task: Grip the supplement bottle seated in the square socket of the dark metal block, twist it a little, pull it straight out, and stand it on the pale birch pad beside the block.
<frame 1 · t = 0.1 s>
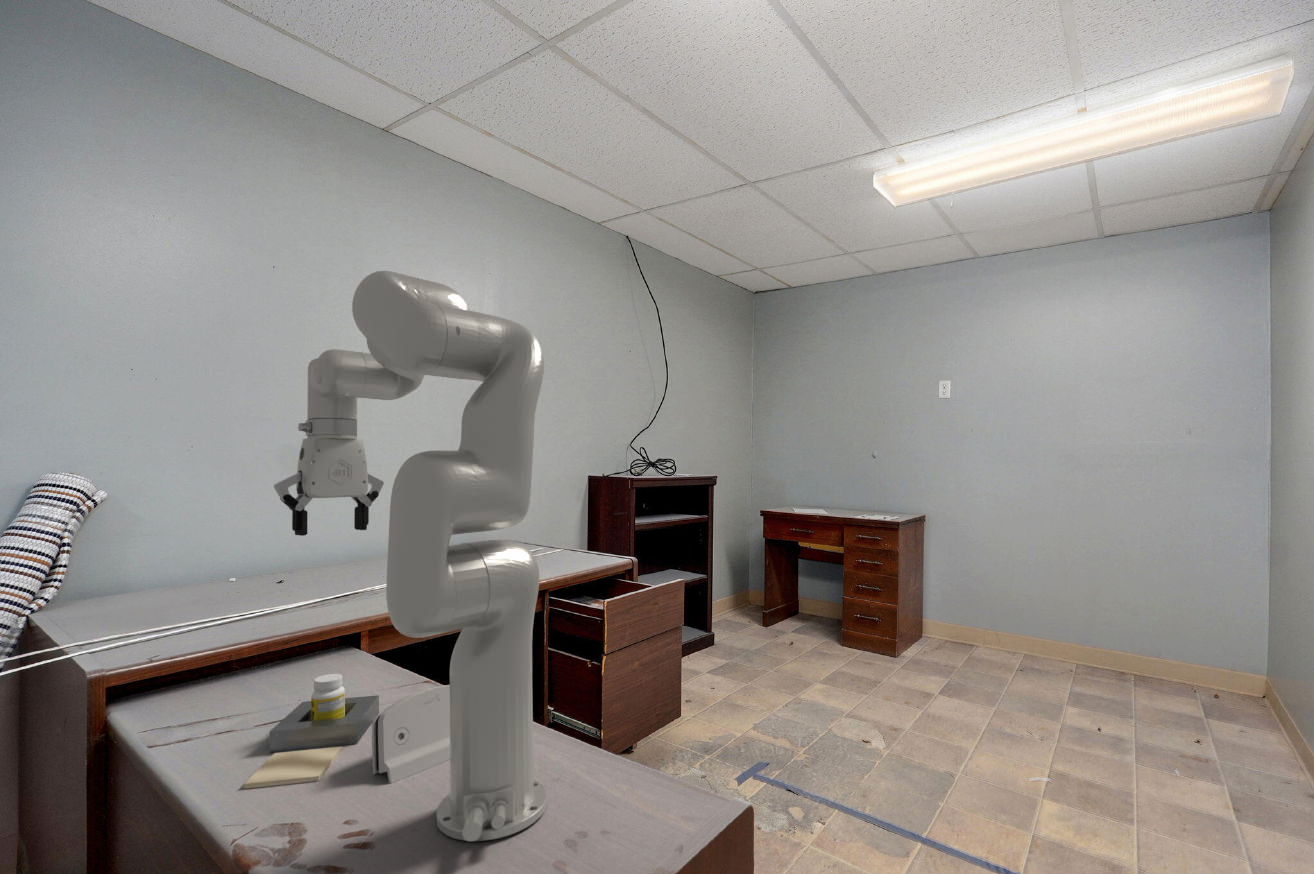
hand: (331, 532, 102), 31 cm above the table, tool pointing down, fingers open, 9 cm apart
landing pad: (295, 768, 84), on the table
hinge: (432, 755, 87), on the table
supplement bottle: (328, 732, 96), resting in socket block
socket block: (328, 731, 96), on the table
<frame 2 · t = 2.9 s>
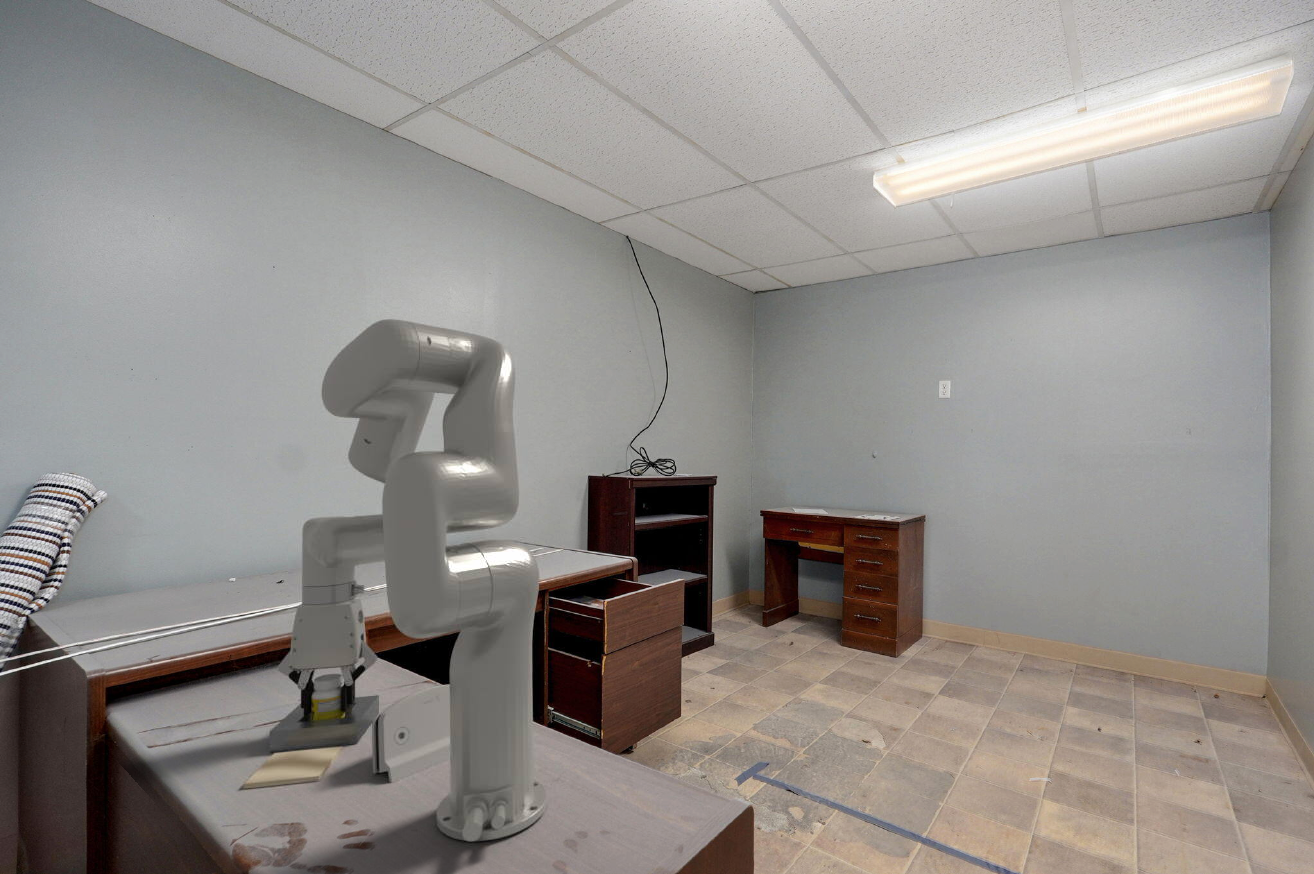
hand: (328, 709, 96), 3 cm above the table, tool pointing down, fingers closed on supplement bottle, 4 cm apart
supplement bottle: (328, 732, 96), resting in socket block, touching gripper
everything else where it was.
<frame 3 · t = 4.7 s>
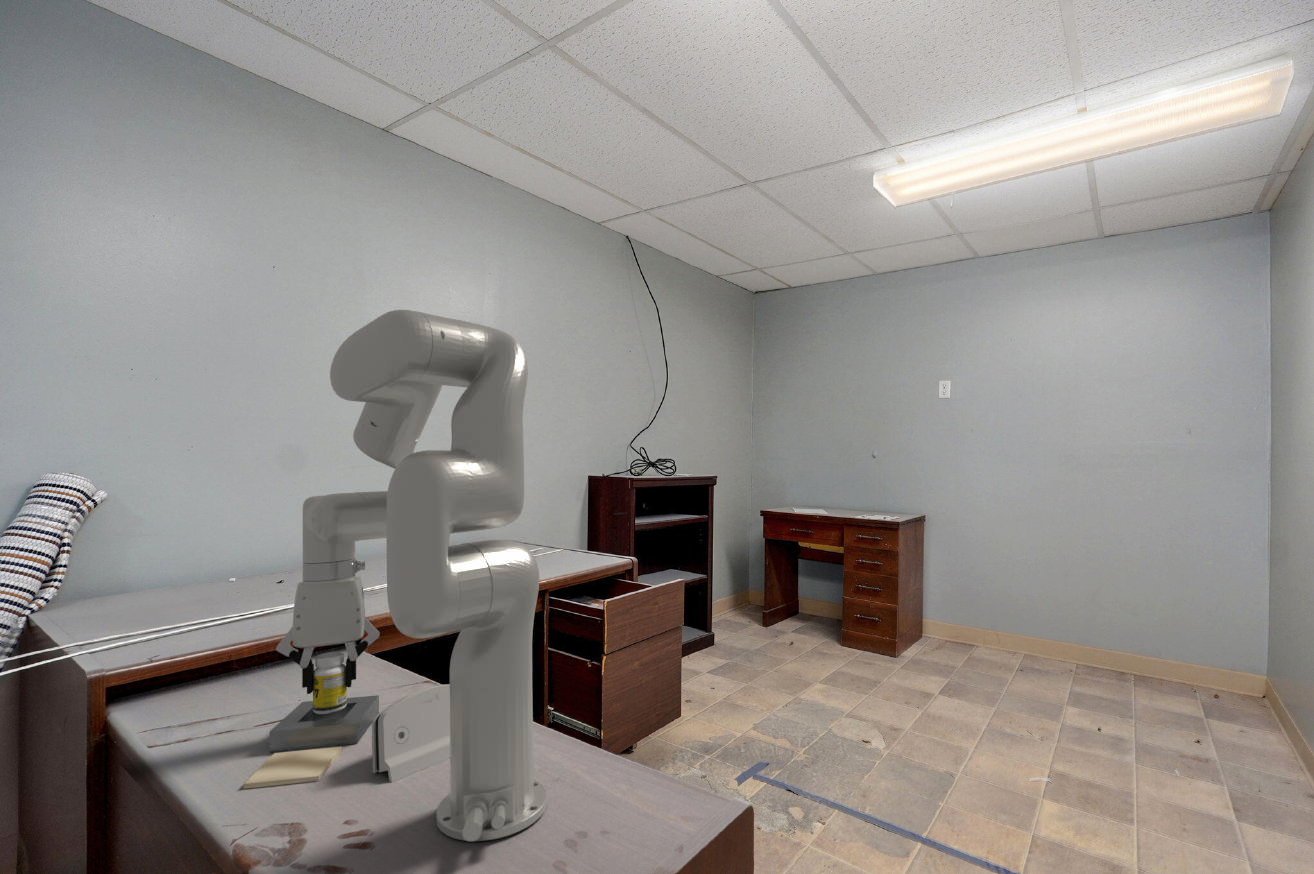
hand: (329, 686, 96), 7 cm above the table, tool pointing down, fingers closed on supplement bottle, 4 cm apart
supplement bottle: (330, 710, 96), point 3 cm above the table, touching gripper
everything else where it was.
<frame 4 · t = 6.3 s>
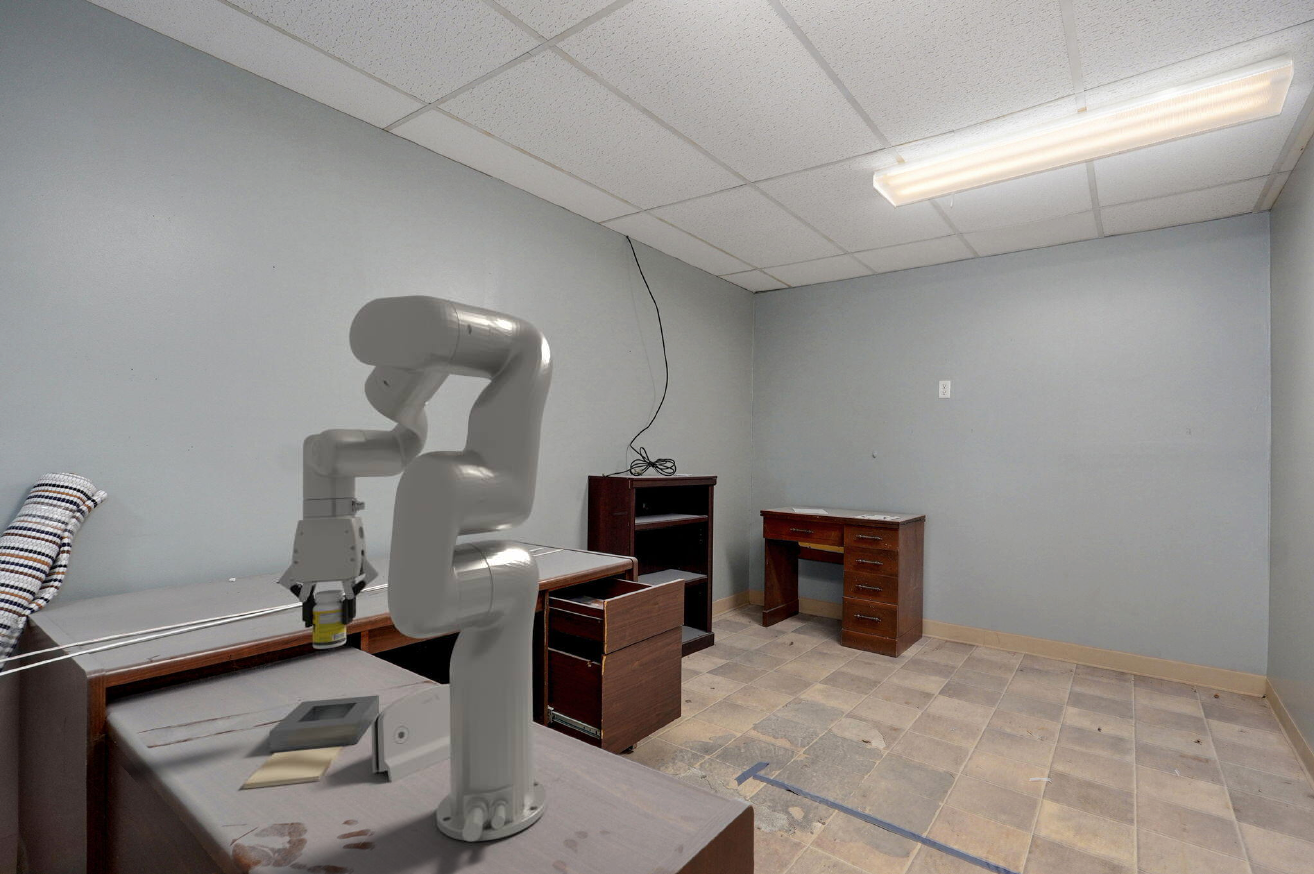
hand: (329, 623, 97), 17 cm above the table, tool pointing down, fingers closed on supplement bottle, 4 cm apart
supplement bottle: (329, 646, 97), point 13 cm above the table, touching gripper
everything else where it was.
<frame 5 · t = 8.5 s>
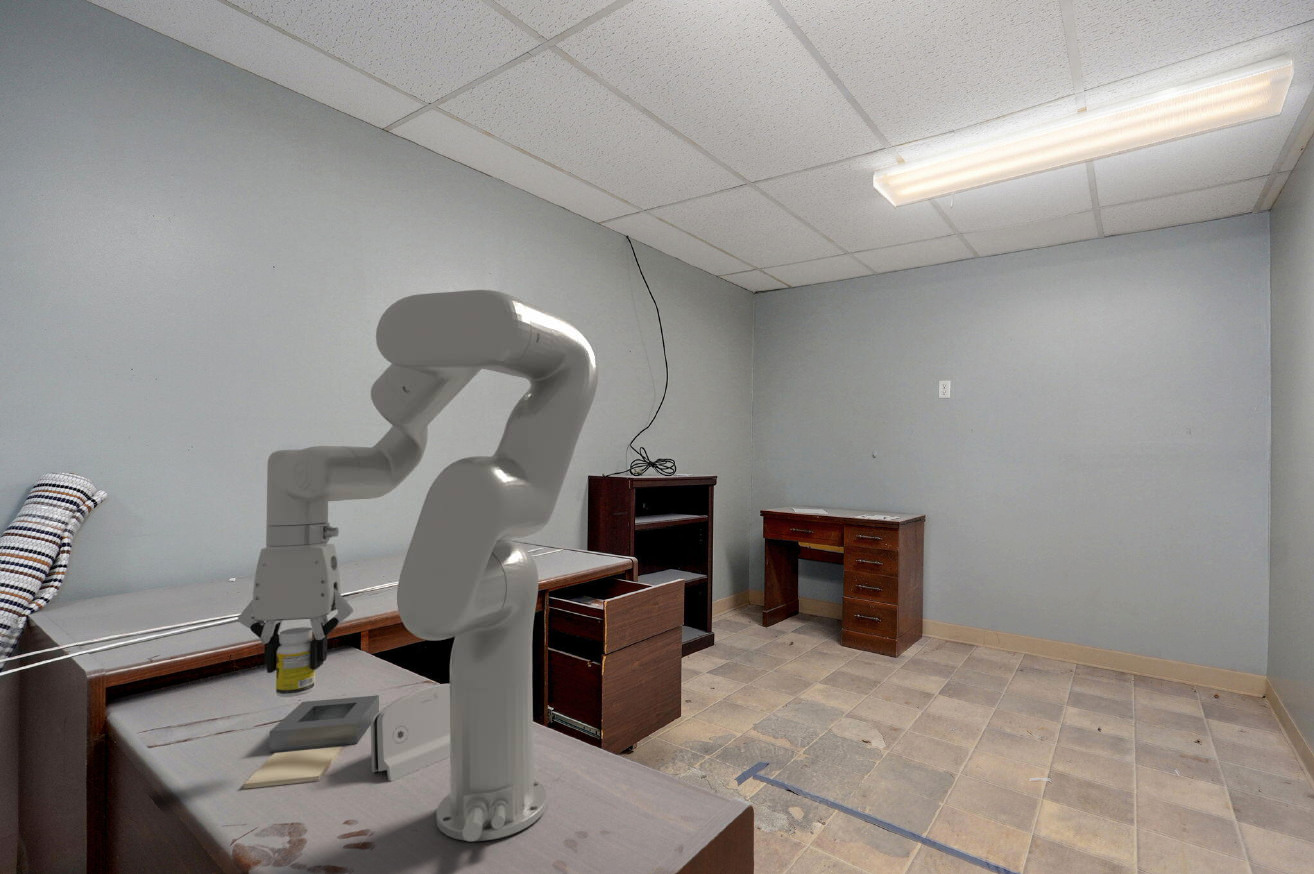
hand: (296, 666, 85), 14 cm above the table, tool pointing down, fingers closed on supplement bottle, 4 cm apart
supplement bottle: (295, 693, 84), point 10 cm above the table, touching gripper
everything else where it was.
when the fingers open (5 cm above the table, at t = 10.2 s): supplement bottle drops 1 cm, resting on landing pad.
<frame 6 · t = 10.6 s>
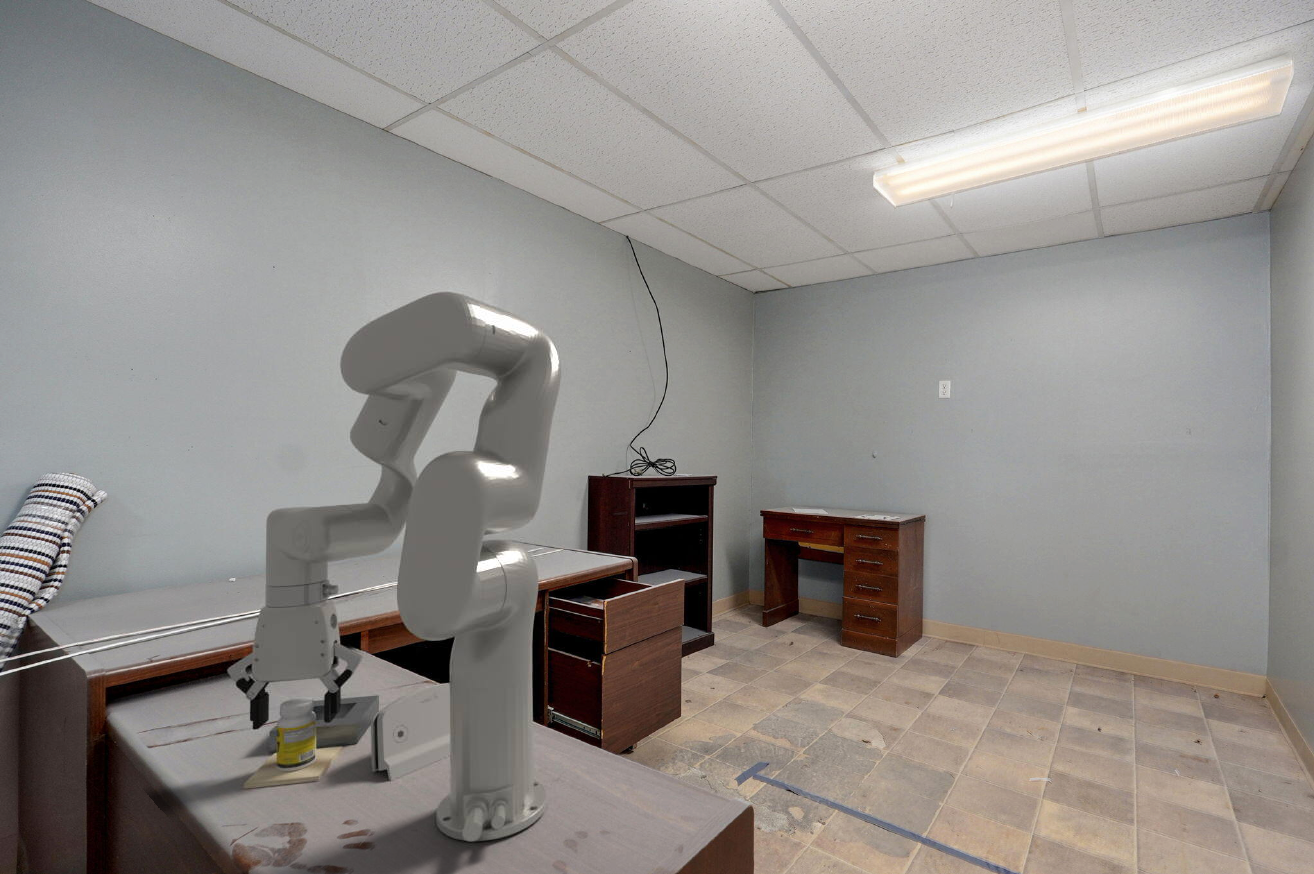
hand: (296, 721, 84), 6 cm above the table, tool pointing down, fingers open, 8 cm apart
supplement bottle: (296, 765, 84), resting on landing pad
everything else where it was.
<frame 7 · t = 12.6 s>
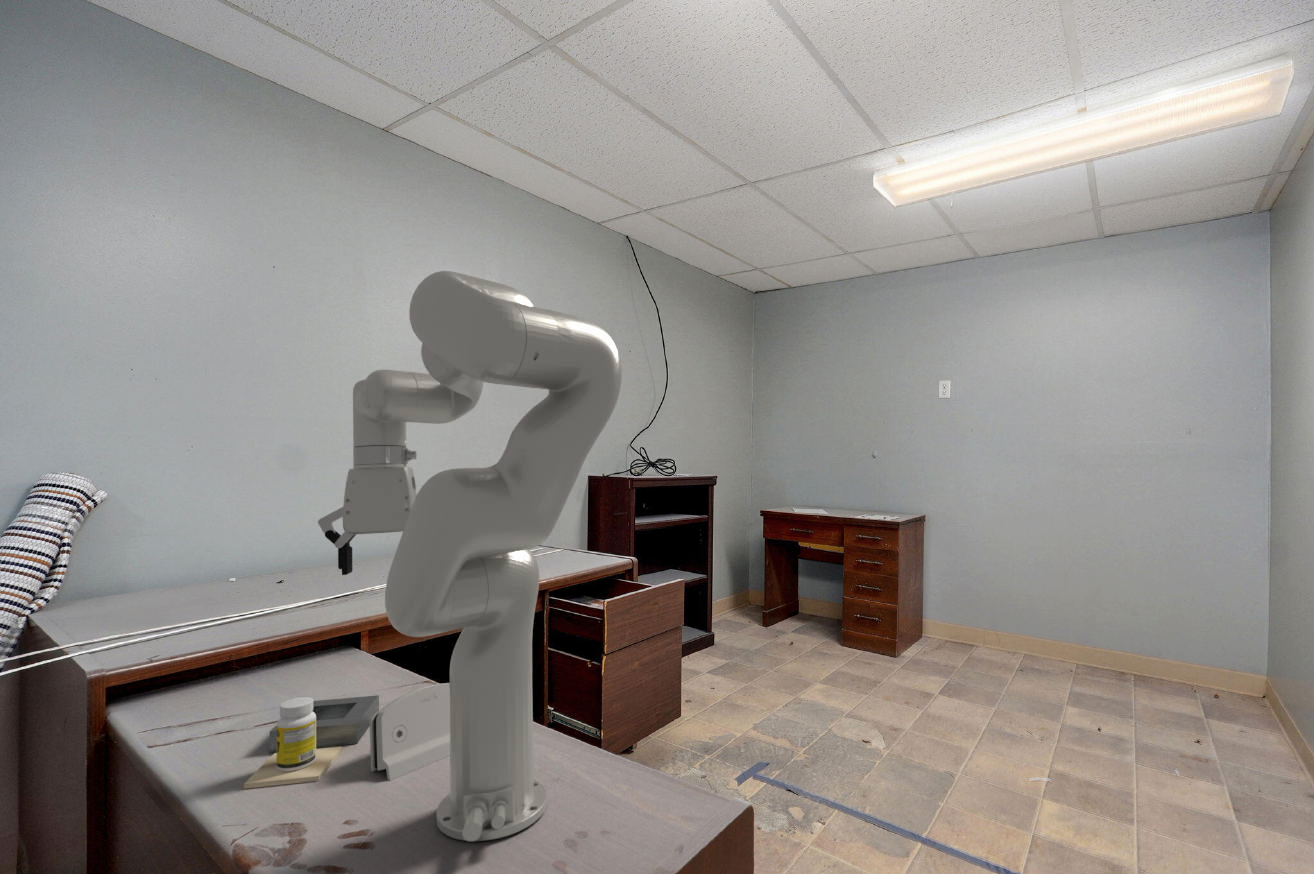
hand: (381, 571, 92), 26 cm above the table, tool pointing down, fingers open, 9 cm apart
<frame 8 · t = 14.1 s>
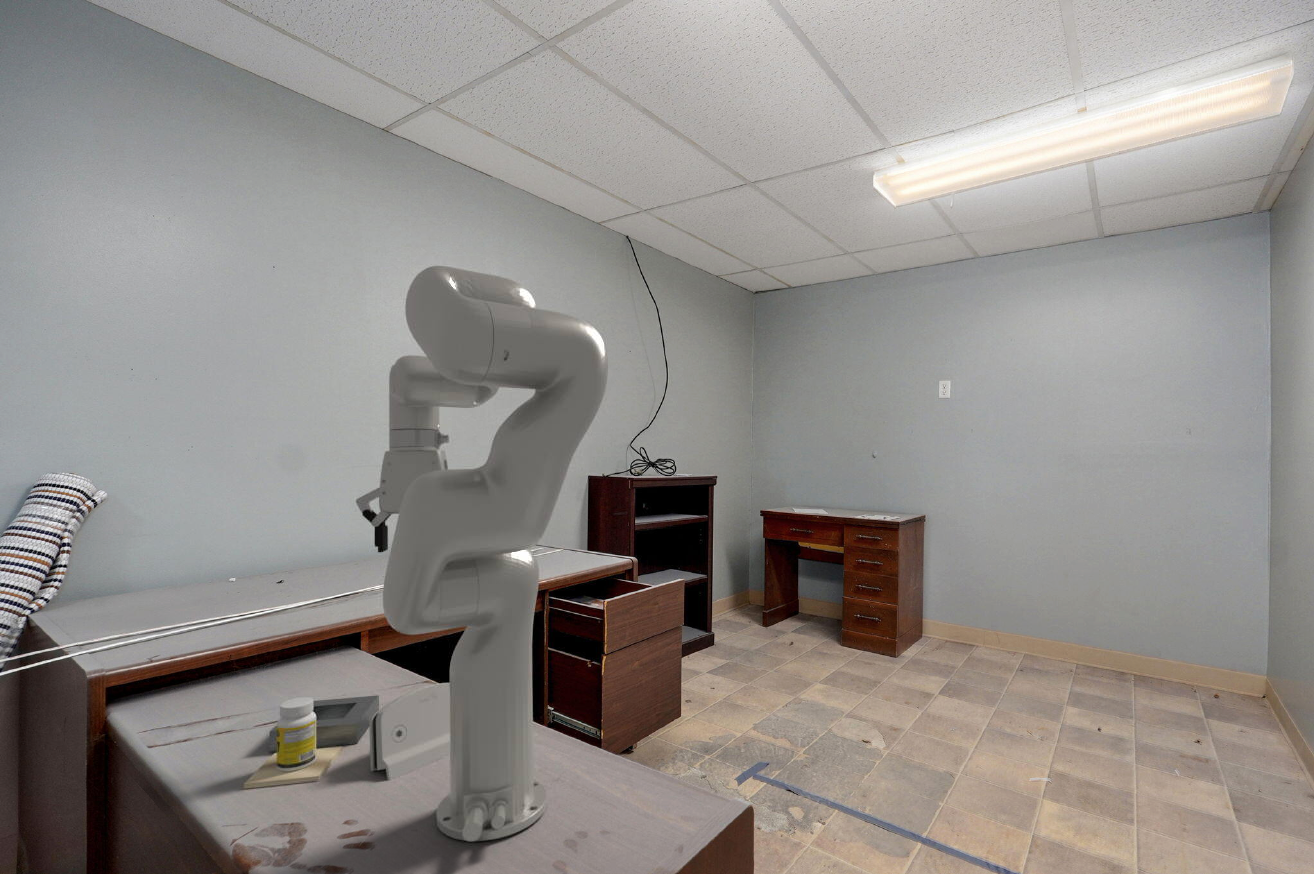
hand: (415, 549, 96), 28 cm above the table, tool pointing down, fingers open, 9 cm apart
at the end: supplement bottle 0.1 cm off-centre on the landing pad, point 0.4 cm above the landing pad's base; supplement bottle tilted 0°; the gripper is holding nothing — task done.
